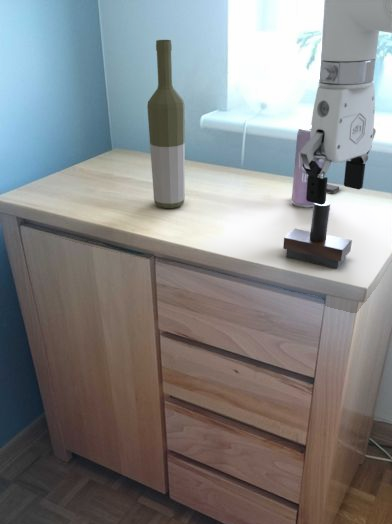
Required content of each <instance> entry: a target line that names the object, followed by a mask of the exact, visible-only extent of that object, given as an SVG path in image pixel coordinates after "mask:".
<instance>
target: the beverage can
mask: <svg viewBox="0 0 392 524" xmlns="http://www.w3.org/2000/svg"><path fill="white" fill-rule="evenodd" d="M310 133H311V123H307V124H306V123H305V124H302V125H299V126H298V130H297V133H296V143H295V144H296V145H295V156H294V168H293V177H292V178H293V179H292V190H291V201H292V204H293V205H294V206H296V207H300V208H313V204H314V203H312V202H309V201H307V200H306V195H307V180H308V176H307V175H306V174H305V169H304V168H303V166H302V164H303V162H302V159H301V155H300V150H301V149H302V148H303V147H304V145H305V144H306V143H307V142H308V141H309V140H310ZM322 163H323V162H319V161H318V163H317V164H318V166H319V167H321V165H322Z"/></svg>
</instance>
